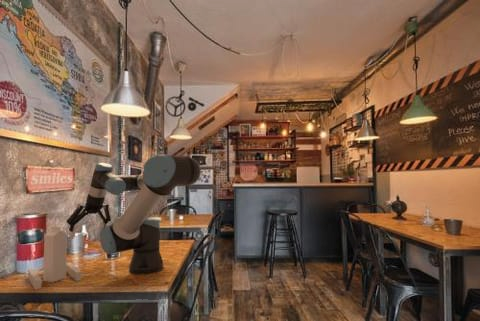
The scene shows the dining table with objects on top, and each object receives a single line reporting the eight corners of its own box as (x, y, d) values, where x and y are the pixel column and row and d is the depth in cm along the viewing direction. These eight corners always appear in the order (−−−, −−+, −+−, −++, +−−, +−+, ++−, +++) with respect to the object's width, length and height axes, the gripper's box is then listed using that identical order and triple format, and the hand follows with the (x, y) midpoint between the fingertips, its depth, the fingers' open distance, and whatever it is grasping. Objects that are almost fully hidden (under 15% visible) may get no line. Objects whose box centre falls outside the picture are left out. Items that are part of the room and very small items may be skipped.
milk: (52, 282, 120) (53, 228, 122) (42, 280, 123) (44, 227, 124) (66, 278, 126) (67, 225, 127) (57, 276, 128) (58, 225, 130)
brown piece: (28, 277, 127) (28, 269, 127) (69, 269, 138) (70, 262, 138) (35, 289, 112) (35, 280, 112) (81, 280, 123) (81, 271, 123)
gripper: (117, 191, 152) (106, 229, 154) (65, 191, 132) (54, 235, 134) (124, 197, 147) (113, 236, 150) (72, 198, 127) (61, 243, 130)
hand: (85, 235), depth 142 cm, fingers open, 13 cm apart
